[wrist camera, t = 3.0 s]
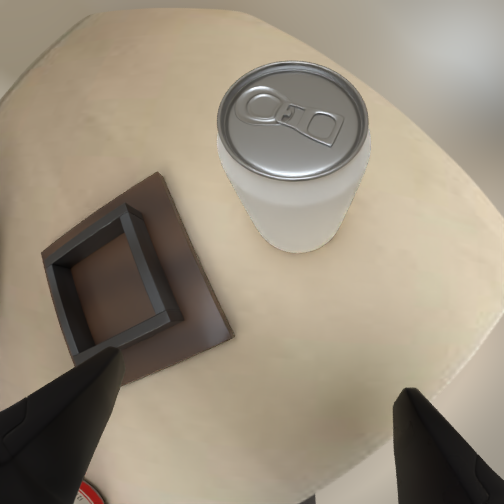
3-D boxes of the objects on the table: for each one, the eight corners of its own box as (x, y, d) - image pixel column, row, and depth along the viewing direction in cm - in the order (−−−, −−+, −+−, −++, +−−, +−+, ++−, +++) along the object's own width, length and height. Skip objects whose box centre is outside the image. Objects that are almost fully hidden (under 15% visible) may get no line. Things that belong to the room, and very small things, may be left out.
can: (276, 157, 23) (253, 40, 11) (355, 190, 22) (397, 85, 10) (237, 231, 22) (174, 154, 11) (320, 270, 21) (344, 225, 9)
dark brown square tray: (235, 336, 21) (223, 342, 18) (94, 396, 22) (69, 404, 18) (162, 175, 24) (143, 157, 21) (47, 254, 25) (22, 247, 22)
